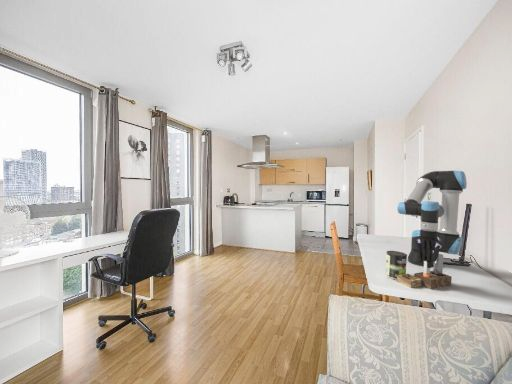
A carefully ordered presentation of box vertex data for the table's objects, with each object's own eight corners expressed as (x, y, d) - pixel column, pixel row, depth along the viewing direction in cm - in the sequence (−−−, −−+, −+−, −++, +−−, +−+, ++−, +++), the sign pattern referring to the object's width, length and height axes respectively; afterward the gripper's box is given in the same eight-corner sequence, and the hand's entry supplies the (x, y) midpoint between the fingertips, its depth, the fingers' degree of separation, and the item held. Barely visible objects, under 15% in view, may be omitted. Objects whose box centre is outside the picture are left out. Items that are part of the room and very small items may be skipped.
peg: (435, 281, 129) (437, 253, 129) (443, 284, 125) (445, 255, 125) (430, 281, 128) (432, 253, 127) (438, 284, 124) (440, 256, 123)
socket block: (433, 278, 132) (433, 270, 132) (451, 285, 124) (451, 276, 123) (413, 282, 127) (414, 273, 127) (430, 289, 118) (431, 279, 118)
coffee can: (410, 279, 130) (411, 255, 130) (396, 281, 128) (397, 256, 127) (394, 272, 140) (396, 250, 140) (381, 274, 138) (382, 251, 137)
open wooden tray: (407, 279, 130) (407, 273, 130) (421, 285, 122) (421, 279, 122) (396, 281, 127) (397, 275, 127) (410, 287, 120) (411, 281, 120)
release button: (425, 280, 125) (425, 271, 125) (430, 283, 123) (431, 274, 122) (421, 281, 124) (421, 272, 124) (427, 283, 122) (427, 274, 121)
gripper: (412, 227, 127) (409, 269, 128) (437, 232, 115) (434, 278, 116) (421, 227, 130) (419, 267, 131) (447, 232, 118) (444, 276, 118)
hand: (426, 272), depth 123 cm, fingers closed
